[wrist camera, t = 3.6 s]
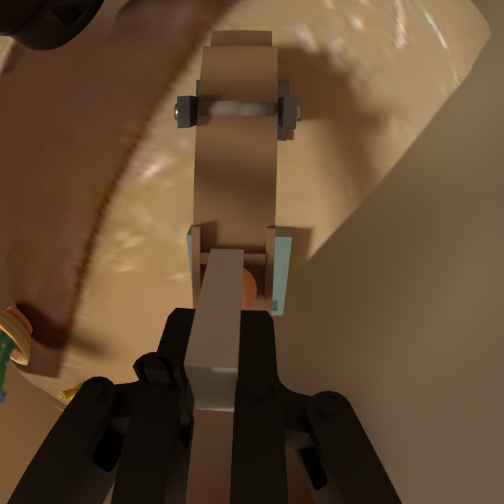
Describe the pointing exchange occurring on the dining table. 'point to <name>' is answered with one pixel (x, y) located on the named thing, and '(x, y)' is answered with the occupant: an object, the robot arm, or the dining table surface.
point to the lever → (237, 157)
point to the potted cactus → (13, 342)
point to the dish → (280, 266)
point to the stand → (286, 110)
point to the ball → (248, 289)
